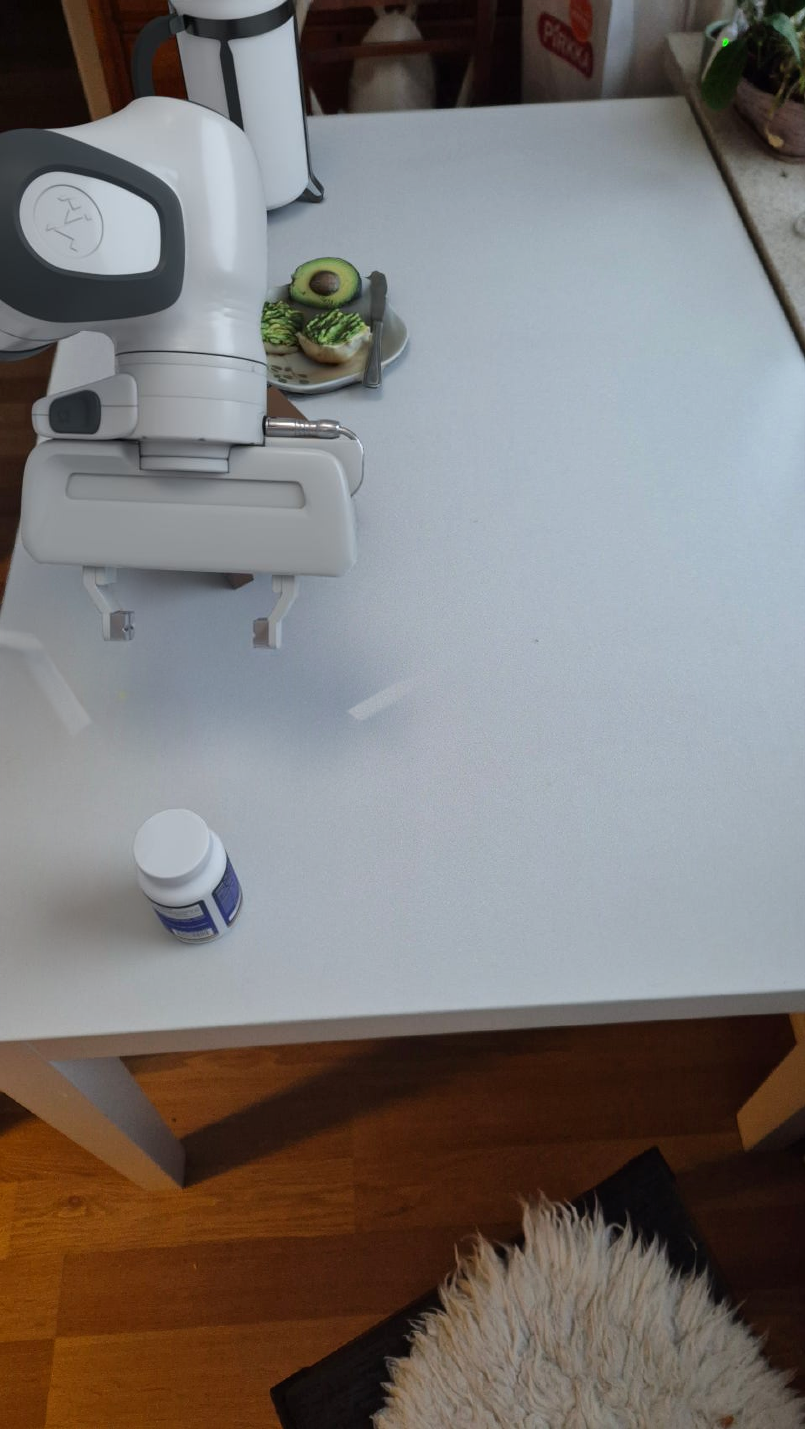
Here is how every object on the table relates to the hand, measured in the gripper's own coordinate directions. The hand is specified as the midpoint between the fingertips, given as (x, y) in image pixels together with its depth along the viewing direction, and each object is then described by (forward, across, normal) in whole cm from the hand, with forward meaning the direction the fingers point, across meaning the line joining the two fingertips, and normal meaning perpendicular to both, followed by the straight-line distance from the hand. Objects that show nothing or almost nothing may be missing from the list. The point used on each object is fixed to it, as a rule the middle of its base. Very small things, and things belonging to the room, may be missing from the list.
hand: (192, 644), depth 63 cm
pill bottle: (+18, 0, -2) cm, 19 cm away
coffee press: (-42, +10, -63) cm, 76 cm away
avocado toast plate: (-25, -1, -46) cm, 52 cm away
